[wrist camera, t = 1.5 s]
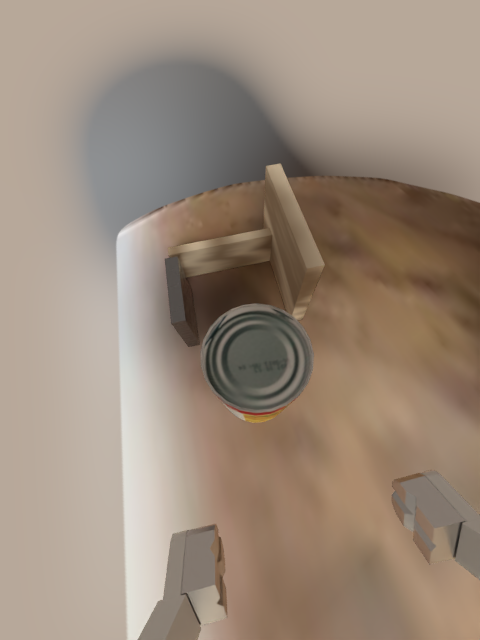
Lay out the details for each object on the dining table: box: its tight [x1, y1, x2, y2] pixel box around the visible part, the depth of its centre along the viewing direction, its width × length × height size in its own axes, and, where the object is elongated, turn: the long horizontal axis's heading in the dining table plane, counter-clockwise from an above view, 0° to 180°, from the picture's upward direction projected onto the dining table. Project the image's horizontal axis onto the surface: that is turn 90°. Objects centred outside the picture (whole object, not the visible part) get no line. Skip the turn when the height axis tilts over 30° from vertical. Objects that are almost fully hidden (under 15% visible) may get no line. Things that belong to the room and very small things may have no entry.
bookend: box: [165, 257, 200, 347], centre depth 29 cm, size 1×8×7 cm, turn 12°
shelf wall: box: [168, 164, 325, 321], centre depth 29 cm, size 14×14×11 cm
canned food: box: [201, 303, 314, 423], centre depth 23 cm, size 8×8×12 cm
